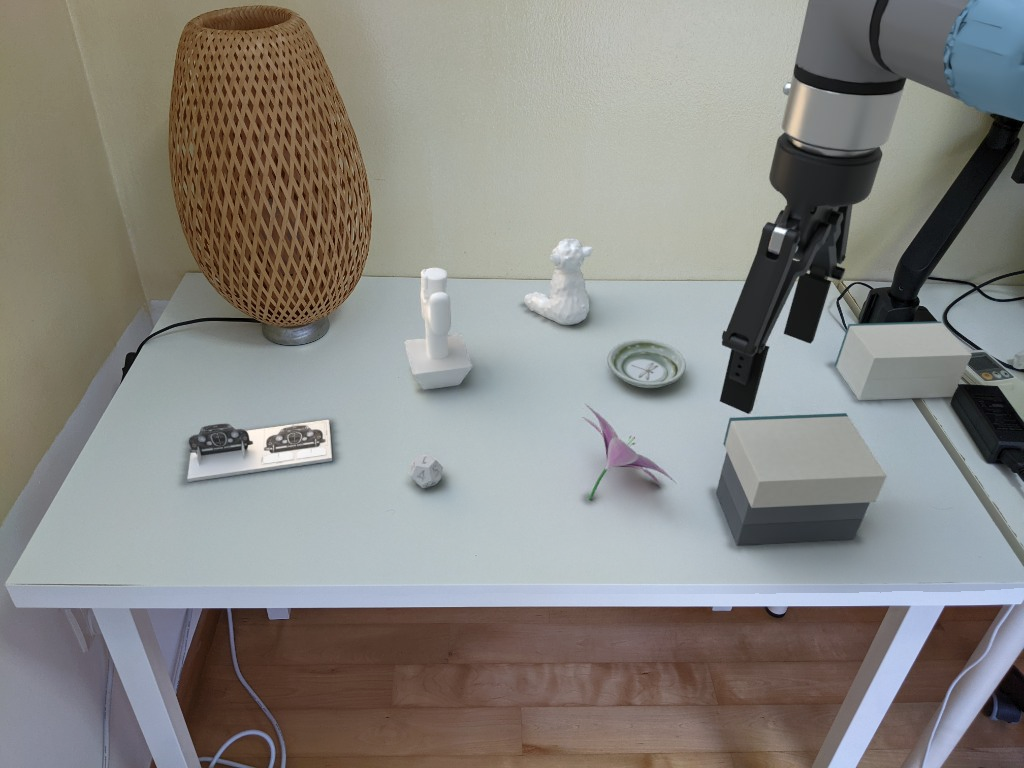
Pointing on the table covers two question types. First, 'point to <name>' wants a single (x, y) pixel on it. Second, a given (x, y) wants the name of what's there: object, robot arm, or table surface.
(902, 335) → the white rectangular block
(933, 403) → the table surface
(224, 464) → the car cutout
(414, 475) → the game die
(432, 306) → the figurine
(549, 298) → the sitting furry creature
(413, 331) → the table surface
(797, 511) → the grey box
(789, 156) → the robot arm
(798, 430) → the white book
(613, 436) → the lily
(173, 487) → the table surface
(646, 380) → the saucer
